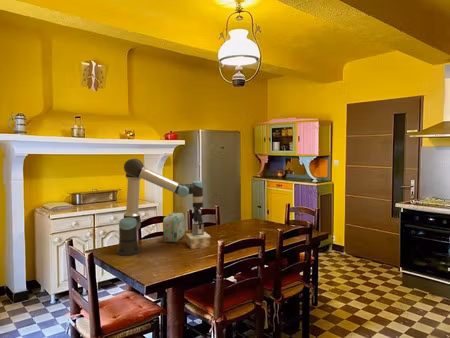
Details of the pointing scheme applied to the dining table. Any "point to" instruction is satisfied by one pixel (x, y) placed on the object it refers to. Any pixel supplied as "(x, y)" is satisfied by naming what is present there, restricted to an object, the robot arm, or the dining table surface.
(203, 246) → the crate
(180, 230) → the lunch box
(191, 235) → the lid
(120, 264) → the dining table surface
